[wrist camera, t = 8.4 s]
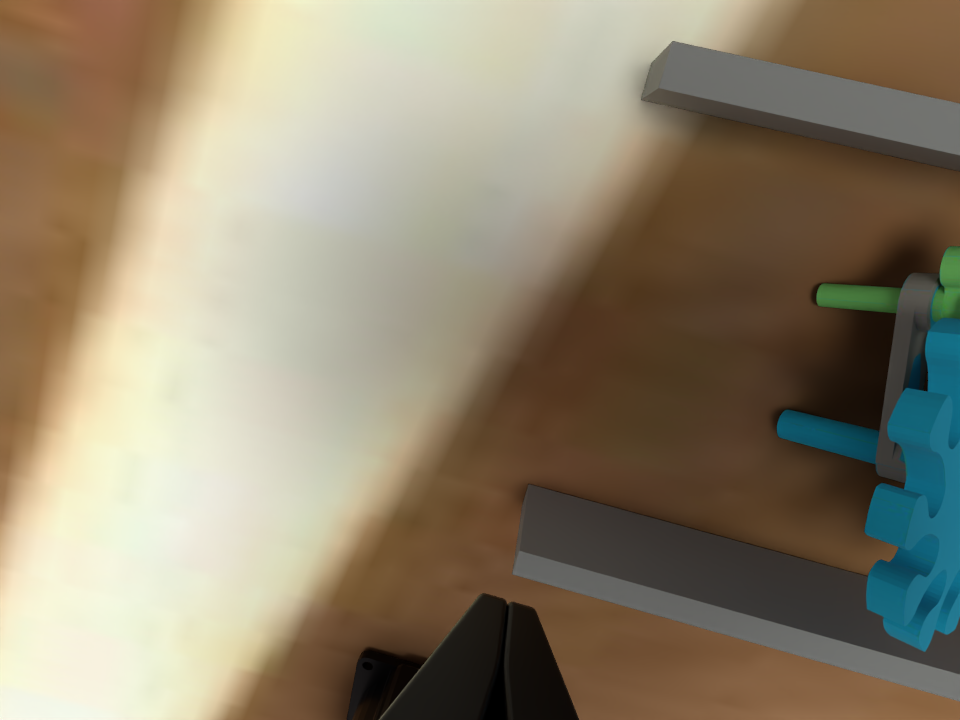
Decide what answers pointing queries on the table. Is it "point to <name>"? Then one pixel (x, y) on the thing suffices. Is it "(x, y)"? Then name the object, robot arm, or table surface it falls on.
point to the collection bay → (714, 559)
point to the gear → (908, 451)
